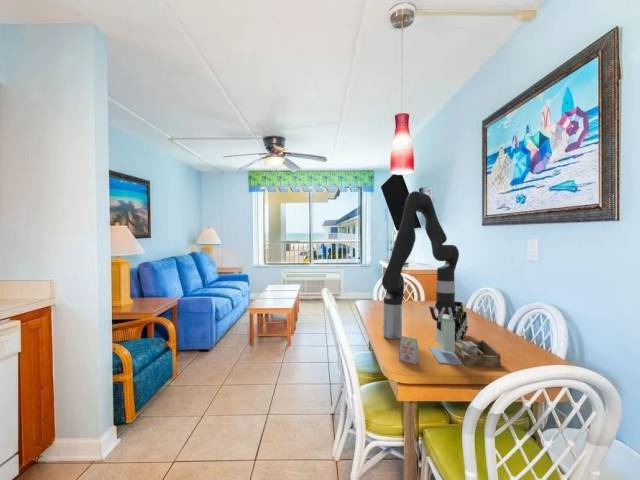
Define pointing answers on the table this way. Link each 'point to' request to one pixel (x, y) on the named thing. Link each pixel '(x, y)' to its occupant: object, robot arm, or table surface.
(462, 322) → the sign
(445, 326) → the pale green slab
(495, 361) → the wooden tray
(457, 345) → the offcut
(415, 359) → the printed grey box
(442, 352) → the mat
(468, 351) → the offcut
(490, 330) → the table surface
